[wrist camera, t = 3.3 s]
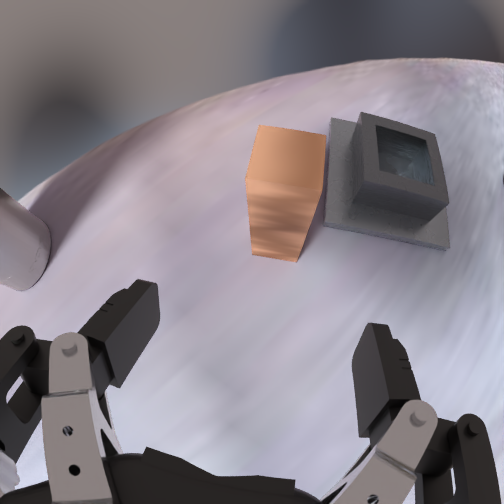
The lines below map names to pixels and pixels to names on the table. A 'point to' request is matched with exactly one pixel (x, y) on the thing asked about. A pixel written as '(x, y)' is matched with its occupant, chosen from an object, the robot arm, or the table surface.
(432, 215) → the socket plate
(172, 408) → the table surface
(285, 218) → the terracotta peg
